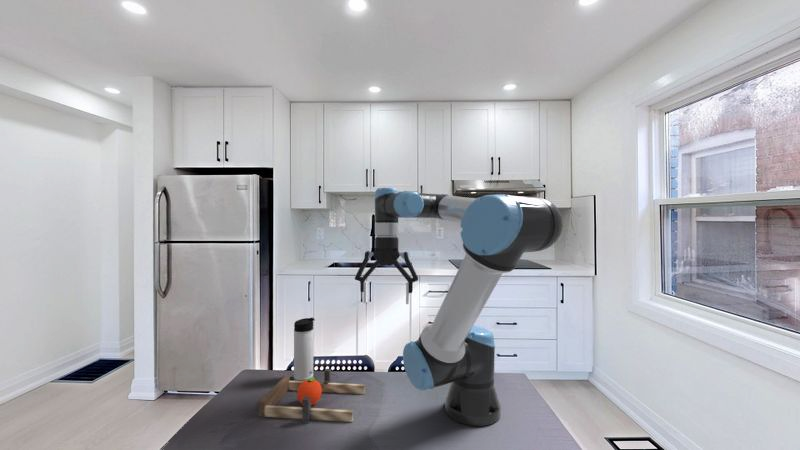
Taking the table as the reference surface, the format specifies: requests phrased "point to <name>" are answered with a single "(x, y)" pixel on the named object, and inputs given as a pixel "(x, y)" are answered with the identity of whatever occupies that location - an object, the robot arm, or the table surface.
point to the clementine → (309, 390)
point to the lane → (307, 401)
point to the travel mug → (303, 349)
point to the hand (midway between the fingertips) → (386, 302)
